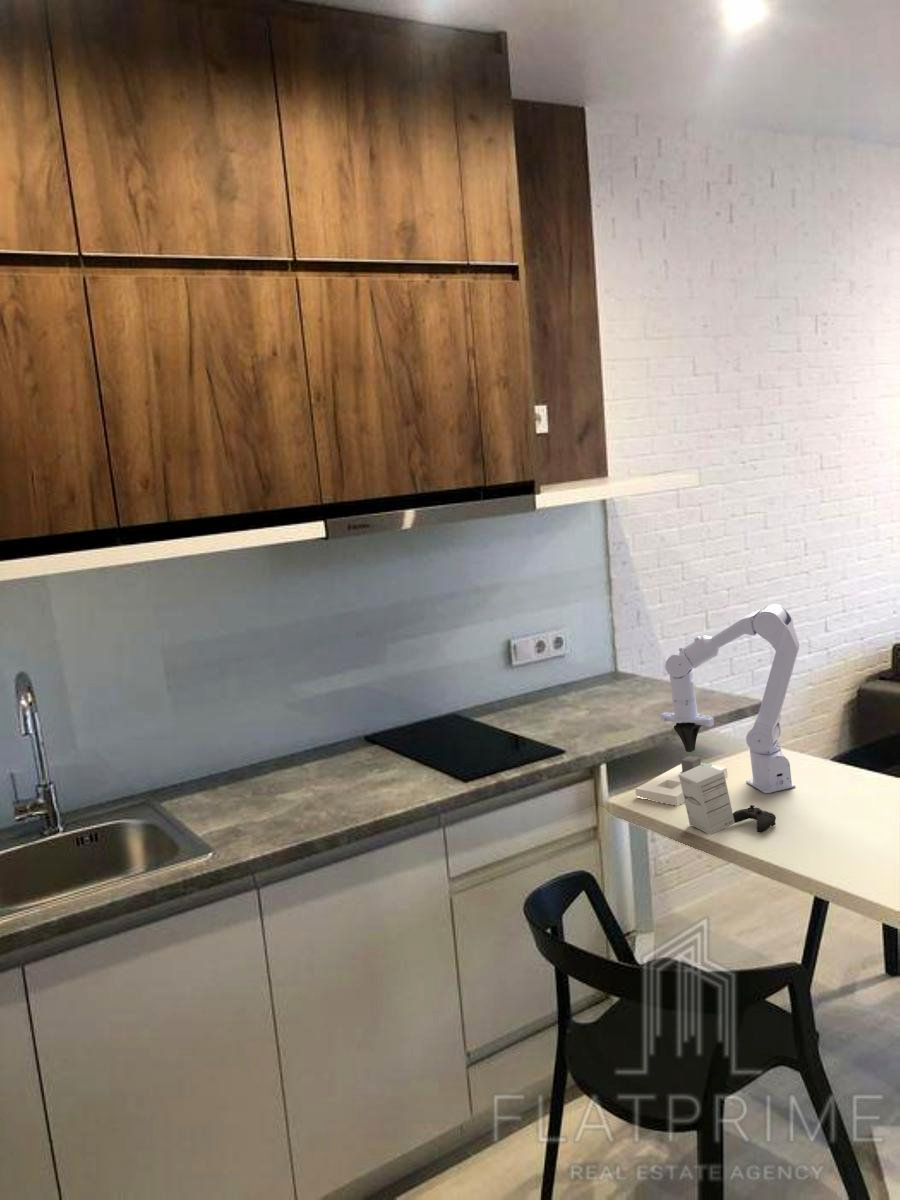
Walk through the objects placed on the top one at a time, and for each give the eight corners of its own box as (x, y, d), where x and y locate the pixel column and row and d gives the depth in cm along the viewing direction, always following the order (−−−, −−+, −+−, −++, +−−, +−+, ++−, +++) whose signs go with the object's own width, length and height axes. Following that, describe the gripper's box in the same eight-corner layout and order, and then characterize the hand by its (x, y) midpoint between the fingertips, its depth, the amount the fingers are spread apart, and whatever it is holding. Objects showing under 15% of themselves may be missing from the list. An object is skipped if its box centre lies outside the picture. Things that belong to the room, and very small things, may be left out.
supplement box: (689, 825, 209) (677, 774, 207) (715, 813, 212) (704, 762, 209) (708, 835, 202) (696, 782, 200) (736, 823, 205) (724, 770, 202)
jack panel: (677, 806, 221) (676, 795, 221) (636, 798, 230) (635, 787, 230) (727, 776, 235) (726, 766, 235) (687, 770, 244) (686, 760, 244)
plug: (695, 784, 233) (692, 761, 233) (683, 782, 236) (681, 759, 235) (704, 779, 236) (701, 756, 235) (692, 777, 239) (689, 755, 238)
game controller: (726, 818, 206) (740, 795, 207) (740, 831, 208) (753, 808, 210) (758, 831, 197) (772, 807, 199) (772, 844, 200) (786, 820, 201)
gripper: (650, 700, 236) (657, 752, 238) (699, 705, 225) (706, 759, 227) (667, 693, 241) (673, 743, 242) (716, 697, 230) (722, 750, 231)
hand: (690, 750), depth 235 cm, fingers closed
